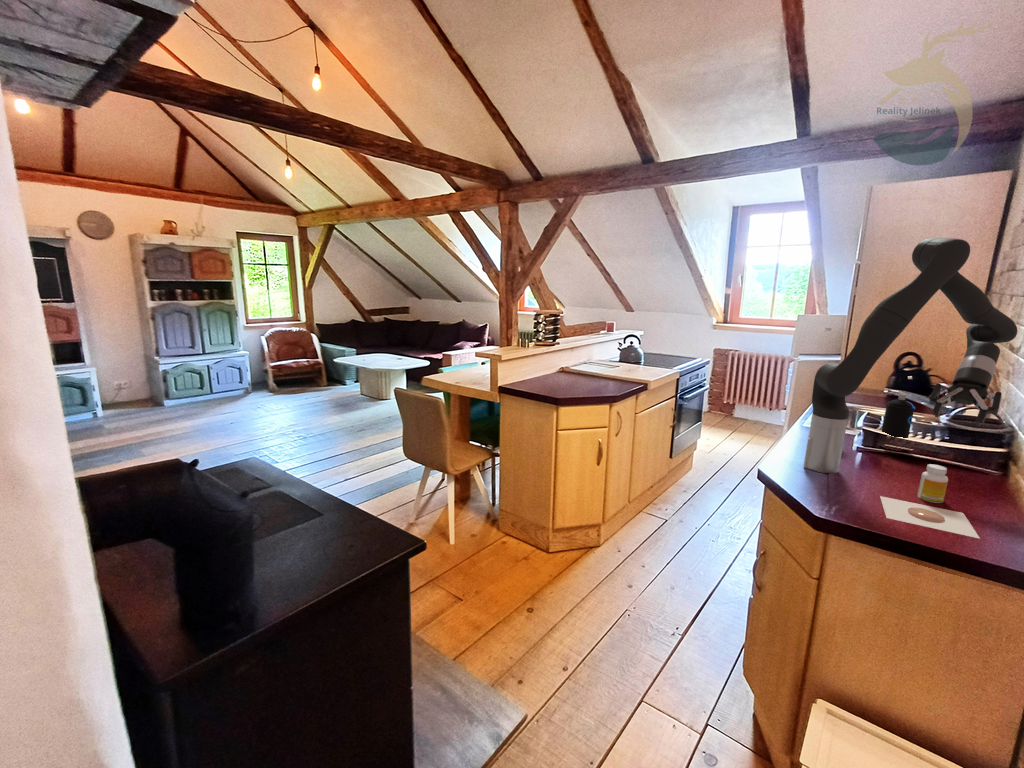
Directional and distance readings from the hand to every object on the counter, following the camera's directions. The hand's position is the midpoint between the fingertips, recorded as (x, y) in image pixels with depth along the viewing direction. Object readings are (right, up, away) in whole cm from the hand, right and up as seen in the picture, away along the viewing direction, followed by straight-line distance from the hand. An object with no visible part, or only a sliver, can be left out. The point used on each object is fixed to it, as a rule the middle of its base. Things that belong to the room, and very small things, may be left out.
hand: (956, 419), depth 132 cm
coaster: (-20, -23, -13) cm, 33 cm away
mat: (-20, -24, -13) cm, 33 cm away
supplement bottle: (-10, -22, -3) cm, 24 cm away
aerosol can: (+14, -14, +41) cm, 45 cm away
